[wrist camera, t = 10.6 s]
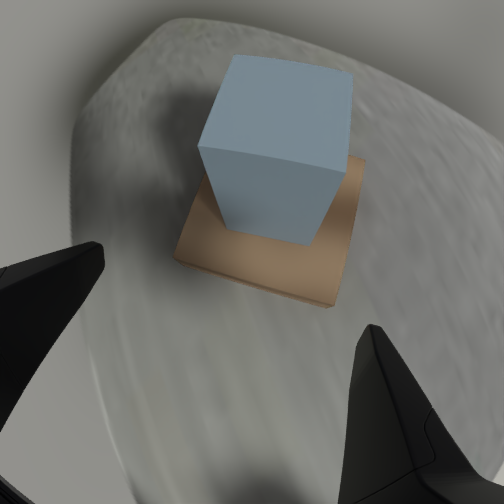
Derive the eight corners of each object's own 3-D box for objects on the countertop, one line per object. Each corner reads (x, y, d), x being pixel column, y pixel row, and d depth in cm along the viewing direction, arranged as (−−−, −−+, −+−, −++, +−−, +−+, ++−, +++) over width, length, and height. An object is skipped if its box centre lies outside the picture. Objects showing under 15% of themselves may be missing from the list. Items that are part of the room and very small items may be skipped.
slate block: (309, 246, 18) (346, 172, 10) (227, 229, 19) (197, 145, 10) (321, 173, 19) (353, 73, 11) (246, 158, 20) (234, 54, 11)
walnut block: (325, 308, 20) (334, 305, 17) (185, 267, 22) (172, 257, 19) (355, 179, 23) (365, 160, 20) (230, 147, 24) (225, 124, 21)
